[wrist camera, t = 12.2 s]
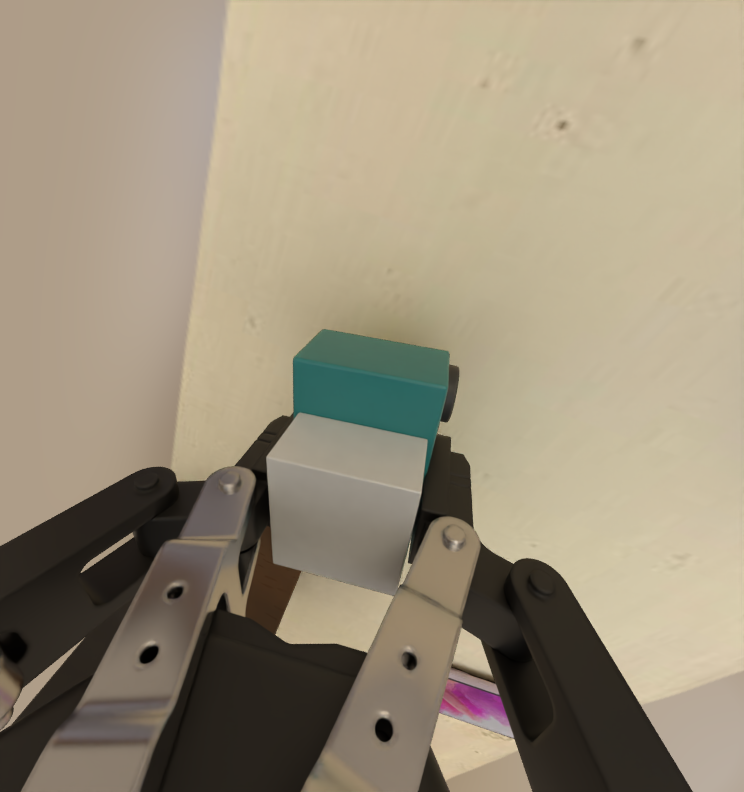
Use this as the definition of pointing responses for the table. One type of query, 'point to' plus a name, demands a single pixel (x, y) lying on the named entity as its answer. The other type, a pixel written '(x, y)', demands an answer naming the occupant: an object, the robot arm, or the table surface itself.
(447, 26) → the table surface
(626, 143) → the table surface
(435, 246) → the table surface
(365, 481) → the toy car
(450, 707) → the smartphone
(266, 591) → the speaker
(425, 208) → the table surface
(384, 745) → the robot arm
